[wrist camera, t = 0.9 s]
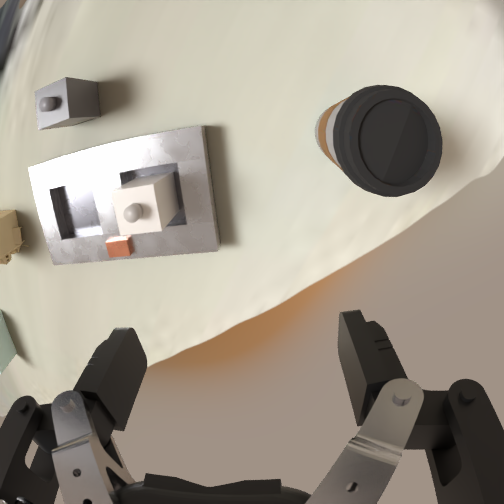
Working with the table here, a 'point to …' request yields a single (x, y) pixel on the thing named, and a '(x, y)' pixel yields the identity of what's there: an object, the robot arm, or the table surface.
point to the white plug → (145, 204)
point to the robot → (9, 235)
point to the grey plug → (66, 103)
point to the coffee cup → (382, 140)
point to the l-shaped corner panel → (5, 345)
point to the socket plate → (113, 176)
